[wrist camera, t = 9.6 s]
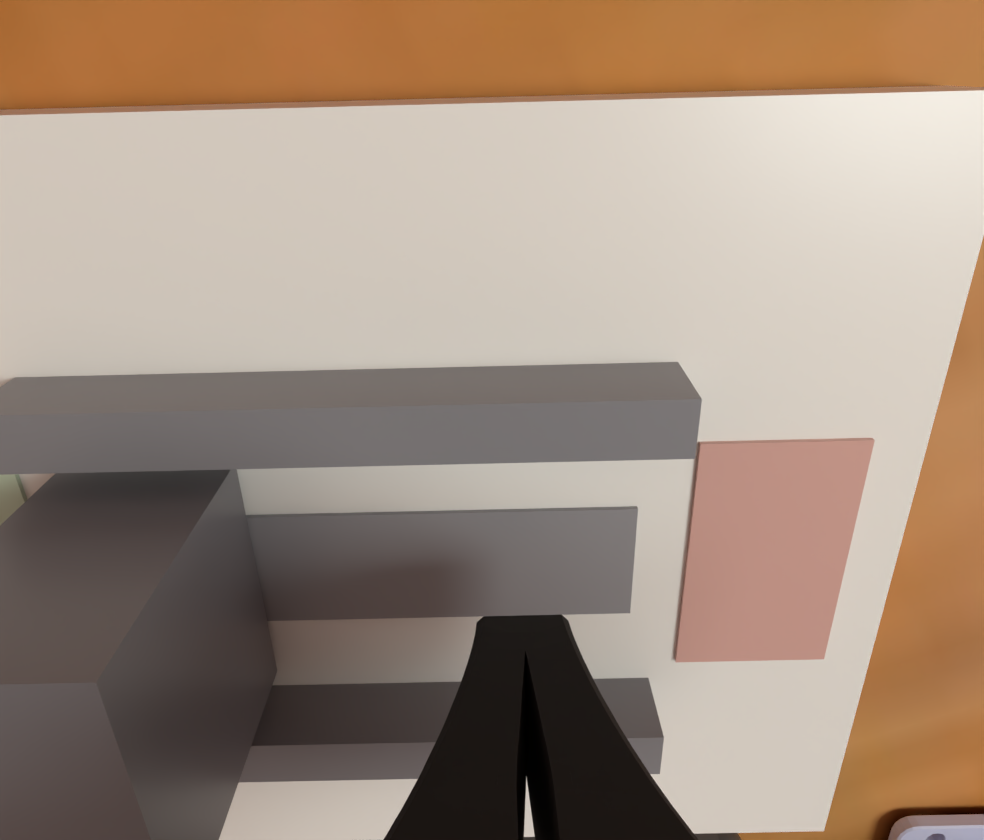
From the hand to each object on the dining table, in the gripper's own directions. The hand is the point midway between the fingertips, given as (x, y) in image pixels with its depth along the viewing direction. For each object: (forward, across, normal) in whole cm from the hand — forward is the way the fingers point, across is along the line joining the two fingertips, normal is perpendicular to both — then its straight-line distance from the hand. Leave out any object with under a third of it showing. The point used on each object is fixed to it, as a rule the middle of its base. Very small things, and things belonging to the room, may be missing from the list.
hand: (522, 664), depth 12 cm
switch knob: (+2, +6, 0) cm, 7 cm away
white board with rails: (+5, +3, +3) cm, 6 cm away
